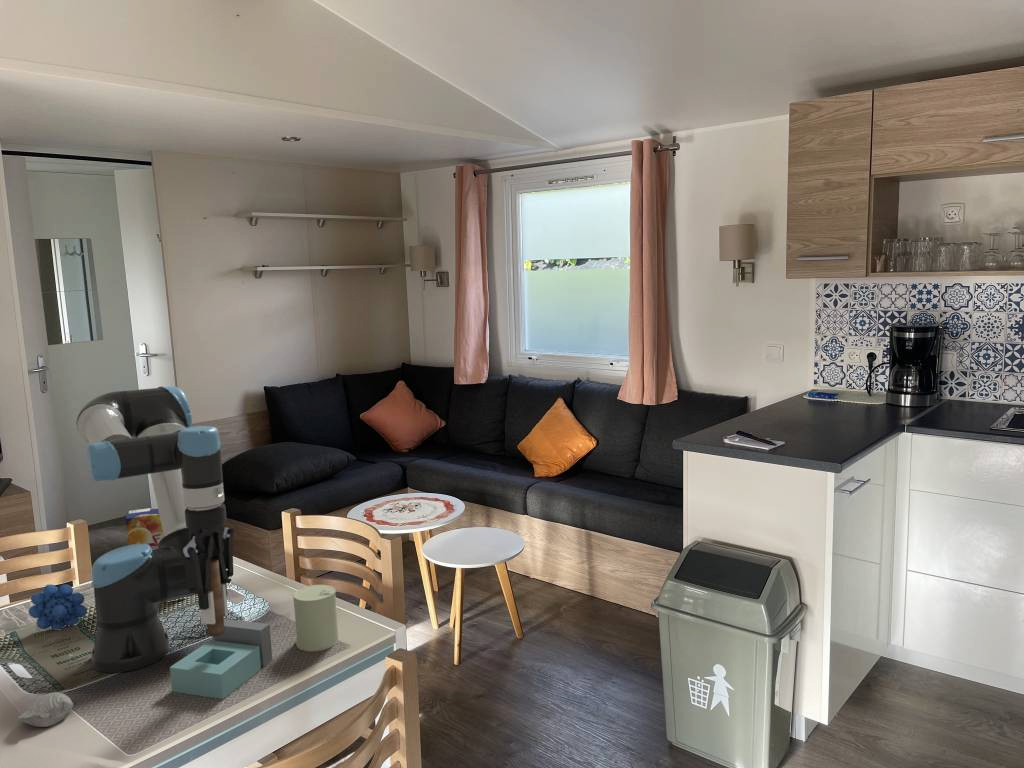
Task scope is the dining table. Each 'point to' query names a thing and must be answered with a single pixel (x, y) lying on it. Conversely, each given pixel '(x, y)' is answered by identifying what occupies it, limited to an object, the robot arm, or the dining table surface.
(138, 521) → the juice carton
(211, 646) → the block
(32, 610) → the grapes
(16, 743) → the dining table surface
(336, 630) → the can
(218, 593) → the dowel
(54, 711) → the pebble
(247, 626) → the wall
